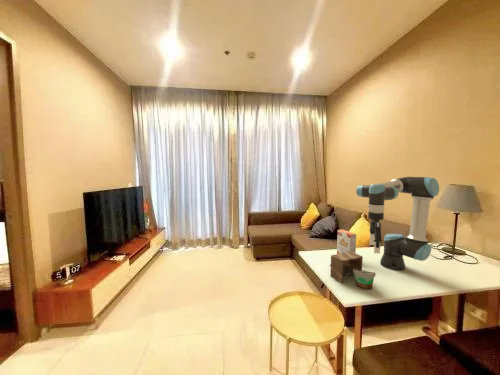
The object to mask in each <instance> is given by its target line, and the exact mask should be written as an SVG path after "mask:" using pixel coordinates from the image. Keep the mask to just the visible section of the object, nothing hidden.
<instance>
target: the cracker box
mask: <svg viewBox="0 0 500 375" xmlns="http://www.w3.org/2000/svg"><path fill="white" fill-rule="evenodd" d="M336 241H337V242H336V254H341V253H346V252H354V253H356V252H357V250H356V249H357V248H356V247H357V234H356V233H354V232H351V231H349V230H346V229H337V238H336ZM356 254H357V253H356Z"/></svg>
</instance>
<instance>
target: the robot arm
mask: <svg viewBox="0 0 500 375" xmlns="http://www.w3.org/2000/svg"><path fill="white" fill-rule="evenodd" d="M355 190H356V191H355V193H356V195H357V197H361V198H368V205H367V208H368V212H367V218H368V219H369V220H370V226H369V246H374V247H373V253H374V254H381V242H383V254H382V256H381V259H380V260H379V261H380V265H381V266H382V267H384V268H386V269H389V270H393V271H404V270H405V269H406V262H405V258H404V256H405V257H408V258H410V259H413V260H417V261H421V262H423V261H426V260H427V259H428V258H430V257H429V256H430V255H431V253H432V245H431V244H430V243H429V239H427V238H426V236H427V235H426V234H427V227H428V221H429V213H430V204H431V201H432V200H434V197H437V196H438V195H439V192H440V184H439V182H438V180H437V179H436V178H435V177H427V176H425V177H424V176H404V177H399V178H393V179H391V180H390V181H386V182H385V181H384V182H379V183H374V184H373V183H372V184H368V185H366V184H360V185H358V186H357V187H356V189H355ZM399 193H403V194H410V196H411V198H412V199H413V203H412V212H411V217H410V218H411V219H410V226H409V232H408V235H406V236H405V235H404V234H401V233H387V234H385V235H384V238H383V241H382V230H381V229H382V228H381V227H382V226H381V225H382V224H381V222H380V221H383V220H384V219H385V216H384V215H385V214H384V212H385V201H392V200H394V199H395V200H396V198H398V196H399Z"/></svg>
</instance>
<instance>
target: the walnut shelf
mask: <svg viewBox="0 0 500 375" xmlns="http://www.w3.org/2000/svg"><path fill="white" fill-rule="evenodd" d="M363 258H364V257H363V256H362V254H361V255H360V254H358V253H354V252H346V253H341V254H337V253H336V254H331V255H330V275H329V277H330V278H332V279H333V280H335V281H337V282H338V283H340V284H342V283H343V276H344V275H345V276H346V275H350V274H352V275H354V272H353V269H356V270H363V262H364V261H363Z"/></svg>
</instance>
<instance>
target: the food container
mask: <svg viewBox="0 0 500 375" xmlns="http://www.w3.org/2000/svg"><path fill="white" fill-rule="evenodd" d="M353 272H354V274H353V277H354V278H353V279H354V286H356V287H357V288H359V289H360V290H365V291H366V290H367V291H369V290H372V289H373V285H374V279H375V277H376V275H377V274H376V271H374V272H373V271H372V272H371V271H367V270H365V269H362V270H356V269H353Z"/></svg>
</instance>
